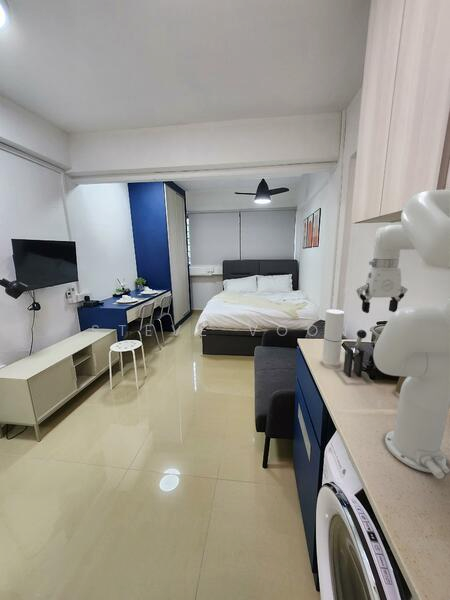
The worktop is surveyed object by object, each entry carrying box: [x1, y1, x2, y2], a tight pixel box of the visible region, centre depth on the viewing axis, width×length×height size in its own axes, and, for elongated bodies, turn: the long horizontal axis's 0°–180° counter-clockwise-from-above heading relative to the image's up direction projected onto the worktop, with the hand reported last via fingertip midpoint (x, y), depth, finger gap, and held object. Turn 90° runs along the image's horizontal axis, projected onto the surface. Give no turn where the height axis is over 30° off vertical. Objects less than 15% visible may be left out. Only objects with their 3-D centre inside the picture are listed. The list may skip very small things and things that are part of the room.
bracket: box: [342, 345, 365, 378], centre depth 97 cm, size 10×9×13 cm
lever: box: [350, 329, 368, 358], centre depth 93 cm, size 13×3×3 cm
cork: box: [395, 376, 407, 395], centre depth 85 cm, size 6×6×11 cm
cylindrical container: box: [321, 308, 345, 367], centre depth 106 cm, size 7×7×25 cm
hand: (378, 311), depth 87 cm, fingers open, 9 cm apart
